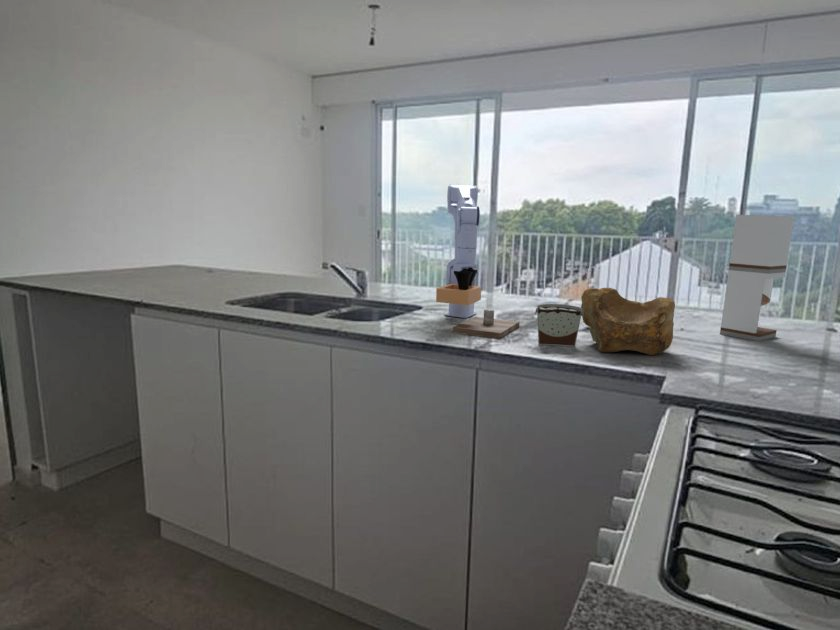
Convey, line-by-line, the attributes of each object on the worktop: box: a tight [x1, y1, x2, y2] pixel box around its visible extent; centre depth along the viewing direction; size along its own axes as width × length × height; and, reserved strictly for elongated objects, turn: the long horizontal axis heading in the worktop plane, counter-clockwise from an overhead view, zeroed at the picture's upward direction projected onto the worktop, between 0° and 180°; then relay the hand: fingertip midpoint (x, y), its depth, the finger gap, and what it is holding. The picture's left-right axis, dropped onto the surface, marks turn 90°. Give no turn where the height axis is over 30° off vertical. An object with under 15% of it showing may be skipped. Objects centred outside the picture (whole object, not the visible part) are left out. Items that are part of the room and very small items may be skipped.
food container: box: [534, 303, 584, 347], centre depth 141 cm, size 12×6×10 cm, turn 84°
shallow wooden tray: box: [435, 284, 482, 305], centre depth 157 cm, size 10×10×4 cm
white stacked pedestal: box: [719, 214, 795, 342], centre depth 156 cm, size 11×11×35 cm
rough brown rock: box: [580, 287, 676, 356], centre depth 135 cm, size 23×17×15 cm
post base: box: [452, 308, 521, 339], centre depth 156 cm, size 19×14×6 cm
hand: (464, 293), depth 161 cm, fingers closed on shallow wooden tray
